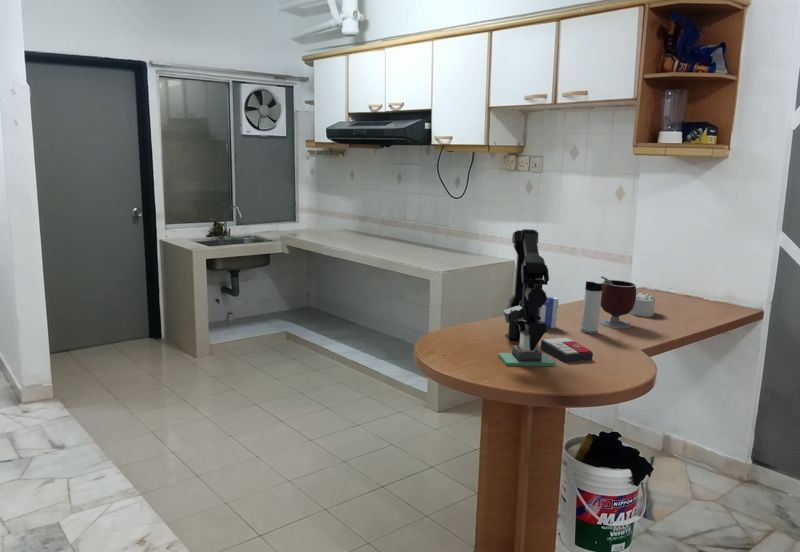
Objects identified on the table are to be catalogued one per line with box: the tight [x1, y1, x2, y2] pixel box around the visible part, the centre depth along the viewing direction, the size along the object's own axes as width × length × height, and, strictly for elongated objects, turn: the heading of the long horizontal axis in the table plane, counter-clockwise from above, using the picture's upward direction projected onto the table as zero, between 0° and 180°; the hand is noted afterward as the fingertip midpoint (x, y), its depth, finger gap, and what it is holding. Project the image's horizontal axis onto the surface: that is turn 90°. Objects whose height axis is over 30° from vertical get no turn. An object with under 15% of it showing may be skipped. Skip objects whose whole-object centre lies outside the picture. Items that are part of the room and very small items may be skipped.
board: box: [498, 345, 556, 367], centre depth 217 cm, size 10×16×4 cm, turn 96°
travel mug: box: [580, 280, 603, 335], centre depth 254 cm, size 6×7×20 cm
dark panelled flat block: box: [540, 337, 594, 363], centre depth 226 cm, size 11×4×15 cm
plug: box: [518, 331, 535, 352], centre depth 216 cm, size 4×5×8 cm
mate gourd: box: [599, 276, 637, 329], centre depth 268 cm, size 16×14×20 cm
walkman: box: [537, 296, 559, 329], centre depth 260 cm, size 8×3×12 cm, turn 84°
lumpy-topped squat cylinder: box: [627, 292, 656, 318], centre depth 291 cm, size 10×13×9 cm
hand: (527, 346), depth 216 cm, fingers open, 9 cm apart
